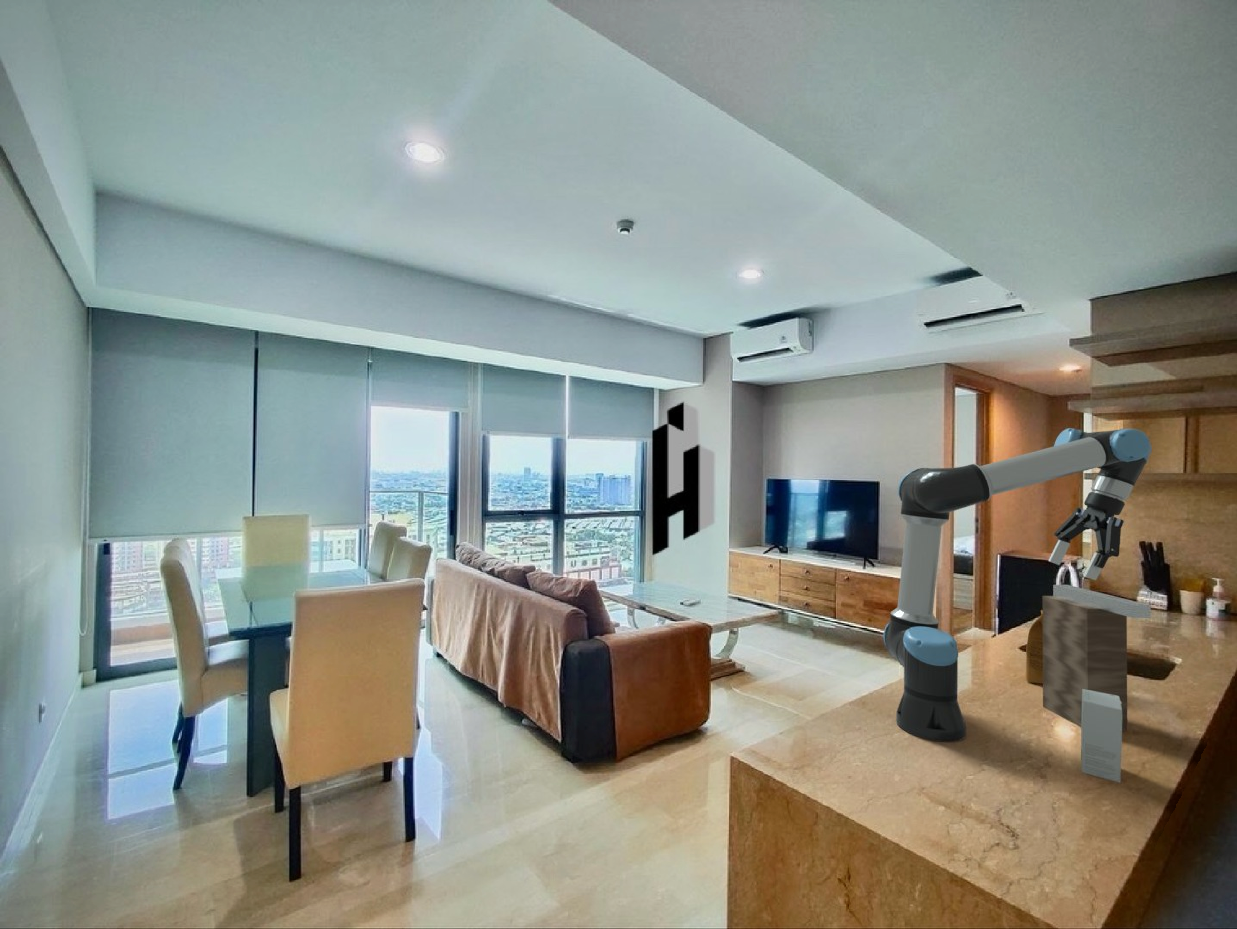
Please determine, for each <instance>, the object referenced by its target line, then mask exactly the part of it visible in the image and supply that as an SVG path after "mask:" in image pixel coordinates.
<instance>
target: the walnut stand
mask: <svg viewBox="0 0 1237 929" xmlns="http://www.w3.org/2000/svg"><path fill="white" fill-rule="evenodd" d="M1042 610H1043V684H1042V707H1043V708H1045V709H1046V710H1048V711H1050V712H1052V713H1054V714H1055V715H1057V716H1060V717H1061V718H1063V719H1066V720H1067V721H1069V722H1071V723H1072V724H1075V725H1077V726H1079V727H1080V728H1081V718H1082V689H1086V690H1091V691H1096V692H1101V693H1106V694H1111V695H1116V696H1119V698H1120V701H1121V702H1122V704H1121V707H1122V731H1128V642H1127V641H1128V638H1127V637H1128V628H1127V627H1128V624H1127V623H1128V622H1127V621H1128V616H1124V615H1120V614H1117V613H1113V612H1110V611H1106V610H1102V609H1099V608H1095V607H1092V606H1088V605H1084V604H1081V603H1077V602H1074V601H1070V600H1066V599H1063V598H1059V597H1056V596H1053V595H1042Z"/></svg>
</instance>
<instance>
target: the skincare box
mask: <svg viewBox="0 0 1237 929" xmlns="http://www.w3.org/2000/svg"><path fill="white" fill-rule="evenodd" d="M1121 704H1122V702H1121V701H1120V698H1119V696H1116V695H1111V694H1106V693H1101V692H1096V691H1091V690H1086V689H1082V718H1081V727H1080V729H1081V730H1080V731H1081V732H1080V736H1081V737H1080V738H1081V739H1080V742H1081V745H1080V764H1081V773H1082V774H1085V775H1090V776H1093V777H1096V778H1101V779H1105V780H1108V781H1110V782H1111V781H1113V782H1115V783H1119V784H1120V783H1121V779H1122V778H1121V777H1122V776H1121V774H1122V772H1121V770H1122V768H1121V767H1122V750H1123V749H1122V748H1123V747H1122V746H1123V744H1122V743H1123V740H1122V739H1123V730H1122V707H1121Z"/></svg>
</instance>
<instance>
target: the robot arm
mask: <svg viewBox="0 0 1237 929" xmlns="http://www.w3.org/2000/svg"><path fill="white" fill-rule="evenodd" d="M1151 452H1152V446H1151V441H1150V439H1149V437H1148V435H1147V434H1146V433H1144V431H1141V430H1140V429H1136V428H1120V429H1114V430H1105V431H1092V432H1087V431H1084V430H1082V429H1076V428H1072V427H1070V428H1069V427H1068V428H1065V429H1064V430H1062V431H1061V432H1060V433H1059V435H1058V436H1057V437H1056V440H1055V442H1054V444H1053V446H1050V447H1046V448H1043V449H1040V450H1036V451H1033V452H1028V453H1024V454H1020V455H1017V456H1014V457H1010V458H1006V459H1003V460H999V461H995V462H991V463H987V464H983V465H978V464H976V463H972V464H968V465H964V466H956V467H943V468H941V467H938V468H937V467H935V468H933V467H932V468H931V467H921V468H916V469H914V470H911V471H909V472H907V473H906V474H905V475H904V476H903V477H902V478H901V480H900V481H899V484H898V488H897V493H898V497H899V500H900V501H901V509H900V516H901V517H902V518H903V519H904V521H905V530H904V537H903V538H904V540H903V549H902V550H903V551H902V557H901V558H902V560H901V570H900V578H899V589H898V596H897V597H898V600H897V601H898V602H897V607H896V608H895V609H893V610H892V611H890V617H889V622H888V623H886V625H885V628H884V630H883V635H882V636H883V637H882V638H883V643H884V646H885V647H886V649H887V651H888V653H889V655H891V656H892V658H893V659H895V661H897V662H898V663H899V664H900V666H902V668H903V694H902V696H901V699H900V700H899V704H898V707H897V710H896V711H895V712H896V714H895V716H896V717H895V718H896V720H895V722H896V724H897V725H898V726H899V728H901V729H902V730H904V731H906V732H908V733H909V734H910V735H913V736H917V737H919V738H921V739H925V740H926V739H927V740H931V741H935V742H936V741H938V742H946V743H948V742H950V743H951V742H958V741H962V740H964V739H965V738H966V736H967V724H966V722H965V720H964V717H963V713H962V710H961V707H960V704H959V700H958V687H959V686H958V685H959V684H958V677H959V676H958V675H959V674H958V668H959V667H958V660H959V659H958V658H959V650H958V644H957V640H956V639H955V638H954V636H952V634H949V633H948V632H946V631H944V630H939V620H938V619H937V617H936V616H935V615H934V604H935V595H936V588H937V587H936V584H937V576H938V567H939V558H940V557H939V556H940V548H941V547H940V546H941V535H942V527H943V526H944V524H946V523H948V522H949V520H950V515H951V514H950V513H952V512H955V511H957V510H961V509H965V508H967V507H970V506H974V505H978V504H981V503H985V502H988V501H990V499H991V497H992V496H995V495H999V494H1003V493H1006V492H1009V491H1013V490H1018V489H1021V488H1024V487H1029V486H1032V485H1036V484H1039V483H1044V482H1047V481H1052V480H1054V479H1060V478H1062V477H1066V476H1070V475H1073V474H1077V473H1081V472H1085V471H1089V470H1092V469H1093V470H1094V469H1096V468H1097V469H1099V472H1098V474H1097V475H1096V478H1095V480H1094V482H1093V484H1092V485H1091V487H1090V490H1091V492H1089V493H1088V494H1087V496H1086V498H1085V500H1084V502H1083V503H1084V505H1085V506H1086V508H1085V509H1084V508H1080V507H1079V506H1078V507H1075V509H1074V511H1073V512H1072V514H1071V515H1070V516H1069V517H1068V518H1067V519H1066V520H1065V521H1064V522H1063V523H1062V524H1061V525H1060V526H1059V527H1058V528H1057V529H1056V530H1055V531H1054V533H1053V536H1055V537H1056V539H1057V541H1056V543H1055V545H1054V548H1053V550H1052V552H1051V555H1050V557H1049V559H1048V562H1050V563H1053V564H1055V565H1057V566H1061V564H1062V561H1063V560H1064V557H1065V555H1066V553H1067V551H1068V549H1069V547H1070V545H1071V541H1072V540H1073V539H1074V538H1076V537H1077V536H1079V535H1081V533H1084V532H1085V531H1086V530H1093V531H1094V532H1095V539H1096V545H1097V550H1096V551H1095V552H1094V553H1093V555H1092V557H1091V560H1090V561H1089V563H1088V565H1087V567H1086V569H1085V571H1084V573H1083V577H1086V578H1088V579H1090V580H1094V581H1097V579H1098V577H1099V575H1100V573H1101V571H1102V569H1104V568H1105V566H1106V564H1107V561H1108V560H1109V558H1111V557H1115V558H1117V557H1119V556H1120V549H1121V548H1120V547H1121V546H1120V545H1121V535H1122V533H1121V532H1122V526H1123V524H1124V523H1125V521H1124V519H1121V518H1118V517H1115V516H1119V515H1121V513H1122V511H1123V509H1124V507H1125V505H1126V504H1125V501H1127V500H1128V498H1129V496H1130V494H1131V492H1132V491H1133V488H1134V487H1135V485H1136V483H1137V481H1138V479H1139V477H1140V475H1141V473H1142V471H1143V469H1144V467H1145V465H1146V464H1147V462H1148V460H1149V457H1150V455H1151Z"/></svg>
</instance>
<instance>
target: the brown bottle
mask: <svg viewBox="0 0 1237 929" xmlns="http://www.w3.org/2000/svg"><path fill="white" fill-rule="evenodd" d="M1040 613H1041V614H1040V616H1039V617H1038V618H1037V619H1036V620H1035V621H1034V622H1033V623H1032V624H1031V626H1030V628H1029V630H1028V635H1027V642H1026V647H1025V649H1026V650H1025V654H1026V655H1025V656H1026V658H1025V660H1026V661H1025V681H1026V682H1028V683H1033V684H1039V685H1043V609H1041V610H1040Z"/></svg>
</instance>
